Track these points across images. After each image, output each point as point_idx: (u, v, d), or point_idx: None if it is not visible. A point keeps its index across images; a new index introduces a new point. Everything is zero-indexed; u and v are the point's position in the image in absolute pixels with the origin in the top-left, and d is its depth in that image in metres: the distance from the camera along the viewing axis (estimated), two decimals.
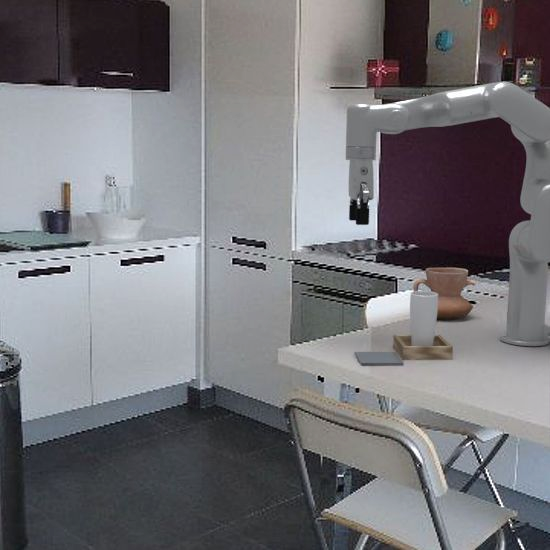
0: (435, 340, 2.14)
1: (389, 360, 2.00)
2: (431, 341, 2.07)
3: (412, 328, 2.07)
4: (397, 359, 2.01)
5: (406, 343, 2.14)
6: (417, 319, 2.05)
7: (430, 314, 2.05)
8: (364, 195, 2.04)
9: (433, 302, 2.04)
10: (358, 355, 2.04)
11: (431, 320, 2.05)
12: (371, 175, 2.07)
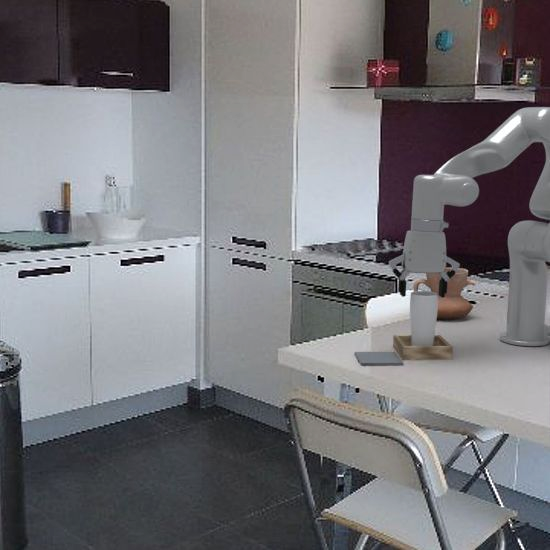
0: (435, 340, 2.14)
1: (389, 360, 2.00)
2: (431, 341, 2.07)
3: (412, 328, 2.07)
4: (397, 359, 2.01)
5: (406, 343, 2.14)
6: (417, 319, 2.05)
7: (430, 314, 2.05)
8: (458, 266, 2.06)
9: (433, 302, 2.04)
10: (358, 355, 2.04)
11: (431, 320, 2.05)
12: None
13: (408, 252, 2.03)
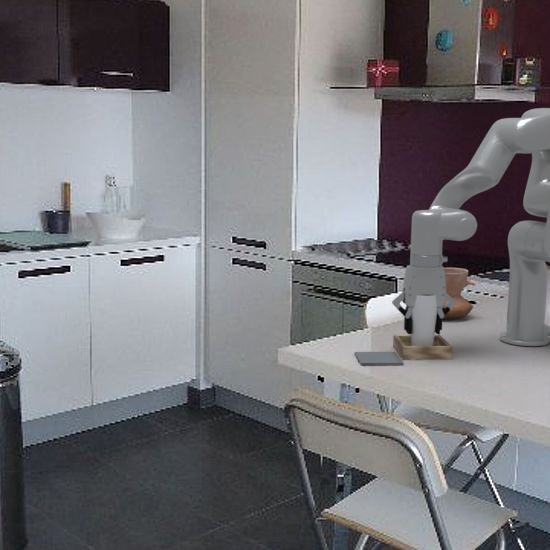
0: (435, 340, 2.14)
1: (389, 360, 2.00)
2: (431, 341, 2.07)
3: (412, 328, 2.07)
4: (397, 359, 2.01)
5: (406, 343, 2.14)
6: (417, 319, 2.05)
7: (430, 314, 2.05)
8: None
9: (433, 302, 2.04)
10: (358, 355, 2.04)
11: (431, 320, 2.05)
12: None
13: (408, 287, 2.04)
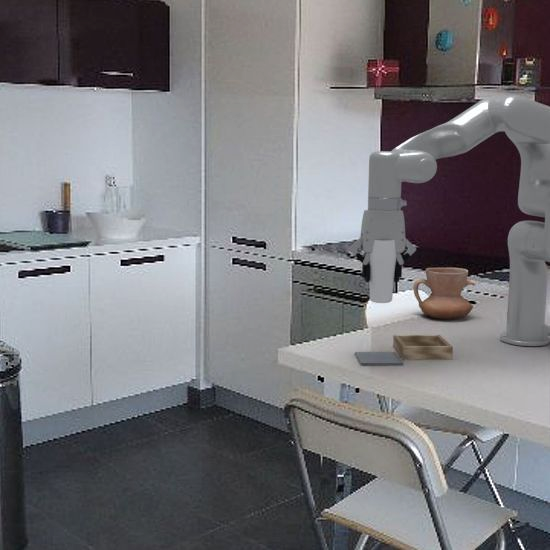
0: (435, 340, 2.14)
1: (389, 360, 2.00)
2: (390, 288, 1.98)
3: (370, 275, 1.98)
4: (397, 359, 2.01)
5: (406, 343, 2.14)
6: (375, 265, 1.96)
7: (388, 260, 1.96)
8: None
9: (391, 247, 1.95)
10: (358, 355, 2.04)
11: (389, 266, 1.96)
12: None
13: (365, 232, 1.95)
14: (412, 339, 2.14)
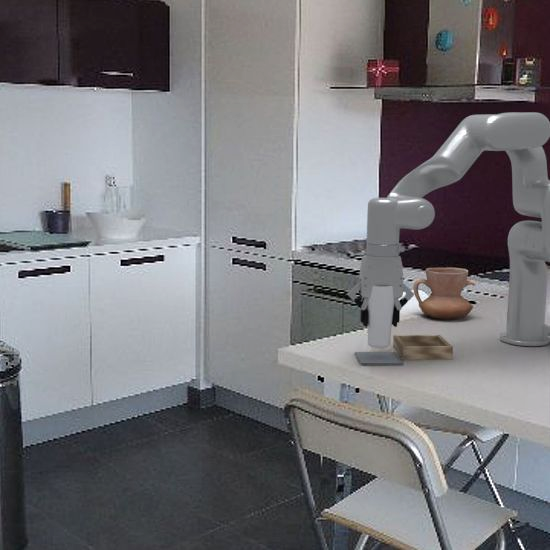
0: (435, 340, 2.14)
1: (389, 360, 2.00)
2: (388, 333, 2.00)
3: (368, 320, 2.00)
4: (397, 359, 2.01)
5: (406, 343, 2.14)
6: (373, 310, 1.98)
7: (386, 305, 1.97)
8: (412, 296, 2.00)
9: (389, 293, 1.97)
10: (358, 355, 2.04)
11: (387, 312, 1.98)
12: None
13: (363, 278, 1.97)
14: (412, 339, 2.14)
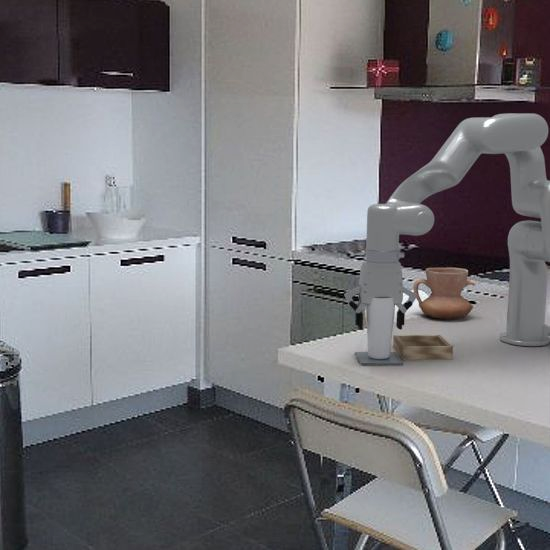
0: (435, 340, 2.14)
1: (389, 360, 2.00)
2: (388, 345, 2.00)
3: (368, 332, 2.01)
4: (397, 359, 2.01)
5: (406, 343, 2.14)
6: (373, 322, 1.99)
7: (386, 317, 1.98)
8: (415, 297, 2.00)
9: (389, 305, 1.98)
10: (358, 355, 2.04)
11: (387, 323, 1.98)
12: None
13: (363, 284, 1.97)
14: (412, 339, 2.14)
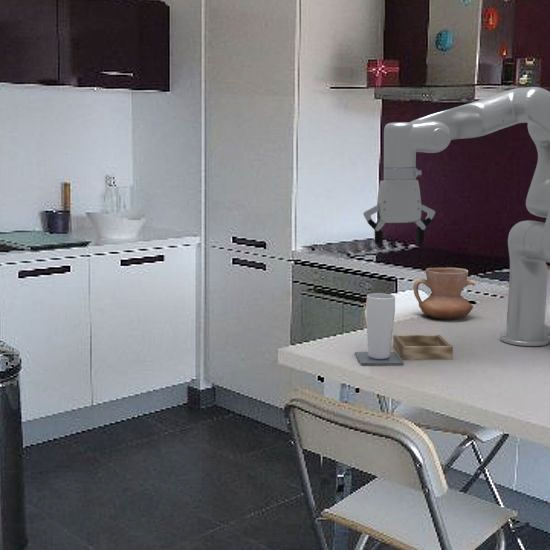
0: (435, 340, 2.14)
1: (389, 360, 2.00)
2: (388, 345, 2.00)
3: (368, 332, 2.01)
4: (397, 359, 2.01)
5: (406, 343, 2.14)
6: (373, 322, 1.99)
7: (386, 317, 1.98)
8: None
9: (389, 305, 1.98)
10: (358, 355, 2.04)
11: (387, 323, 1.98)
12: None
13: (382, 202, 2.00)
14: (412, 339, 2.14)
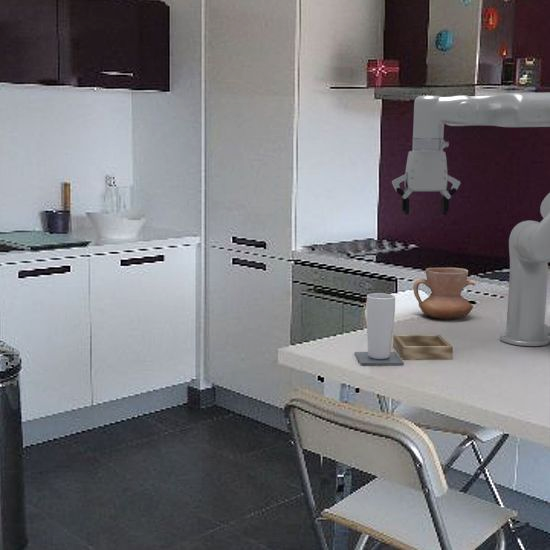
0: (435, 340, 2.14)
1: (389, 360, 2.00)
2: (388, 345, 2.00)
3: (368, 332, 2.01)
4: (397, 359, 2.01)
5: (406, 343, 2.14)
6: (373, 322, 1.99)
7: (386, 317, 1.98)
8: (459, 184, 2.14)
9: (390, 305, 1.98)
10: (358, 355, 2.04)
11: (387, 323, 1.98)
12: None
13: (410, 171, 2.11)
14: (412, 339, 2.14)
